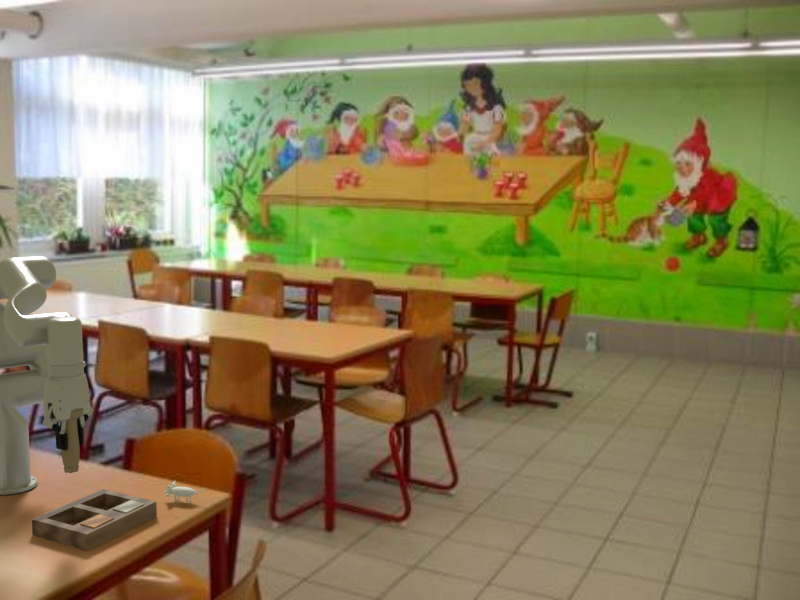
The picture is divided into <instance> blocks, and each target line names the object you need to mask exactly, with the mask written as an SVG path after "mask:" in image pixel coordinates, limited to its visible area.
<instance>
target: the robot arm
mask: <svg viewBox="0 0 800 600" xmlns="http://www.w3.org/2000/svg"><path fill="white" fill-rule="evenodd" d="M56 280H57V270H56V267H55V265H54V263H53V262H52V260H50V259H49V258H48V257H46V256H39V255H38V256H37V255H36V256H19V257H18V256H16V257H15V256H14V257H8V258H4V259H2V260H0V300H7V302H6V304H4V302H1V301H0V370H3V369H11V368H16V367H23V366H28V367H29V369H28V370H27V369H26V370H21V371H12V372H7V373H0V496H1V495H2V496H3V495H4V496H7V495H8V496H9V495H17V494H20V493H25V492H28V491H29V490H31V489H33V488H35V487H37V485H38V478H37V477H35V476H34V475H32V472H31V470H32V469H31V453H30V451H31V450H30V436H29V435H30V434H29V423H28V420H27V418H26V417H25V415H23V414H22V413H21V412H19V411H18V409H19V408H23V407H27V406H32V405H38V404H39V405H40V404H43V418H44V419H43V420H42V426H44V427H46V428H48V429H50V430H51V431H52V433H54V434H55V448H56V449H57V450H60V451H61V450H67V449H68V437H67V433H65V427H66V420H68V419H70V414H71V412H73V411H77V410H80V409H83V415H82V416H80V417H78V418H77V429H78V438H79V446H82V445H84V442H85V441H84V439H85V438H84V428H85V427H86V422H87V421H88V419H89V417H90V416H91V415H92V414H93V412H94V408H93V407H92V406H91V397H90V395H91V394H90V389H89V388H90V387H89V382H88V379H87V374H86V373H85V370H84V369H85V367H86V366H87V363H86V361H84V347H83V343H84V342H83V325H82V321H81V319H80V318H78V317H75V316H73V315H72V314H70V313H69V312H66V311H59V312H58V311H57V312H47V313H45V312H44V313H35V314H32V313H34V312H35V311H38V310H39V309H40V308H41V307H42V306H43V305H44V303H46V300H47V291H48V290H49V289H51V287H53V286H54V284H55V283H56Z"/></svg>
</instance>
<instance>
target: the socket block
mask: <svg viewBox="0 0 800 600" xmlns="http://www.w3.org/2000/svg"><path fill="white" fill-rule="evenodd" d="M157 510H158V509H157V501H155V500H151V499H147V498H142V497H139V496H135V495H130V494H125V493H122V492H117V491H114V490H109V489H104V488H103V489H100V490H98V491H95V492H94V493H91V494H88V495H86V496H84V497H81V498H79V499H76V500H73V501H72V502H70V503H66V504H65V505H63V506H60V507H57V508H55V509H53V510H50V511H48V512H46V513H43V514H41V515H38V516H36V517H34V518H32V519H31V530H32V531H31V532H32V537H33V536H34V537H35V538H36V537H37V538H40V539H45V540H48V541H50V540H51V541H52V542H54V541H55V543H57V542H58V543H59V544H61V543H62V545H65V546H68V545H69V547H72V546H73V547H72V548H75V547H76V549H79V548H80V549H79V550H82V549H83V550H82V551H86V550H87V552H89V551H91V550H93V549H95V548H97V547H98V546H102V545H103V544H105V543H107V542H108V541H111V540H113V539H115V538H117V537H119V536H121V535H124V534H125V533H127V532H130V531H131V530H133V529H135V528H137V527H140V526H141V525H144V524H145V523H147V522H150V521H151V520H154V519H155V518H157V516H158V514H157V513H158V512H157ZM74 523H76V524H74ZM73 524H74V525H73Z"/></svg>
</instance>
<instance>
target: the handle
mask: <svg viewBox="0 0 800 600" xmlns="http://www.w3.org/2000/svg"><path fill="white" fill-rule="evenodd" d="M82 415H83V409H80V410H77V411H73V412H71V414H70V419H68V420H66V427H65V433H67V437H68V449H67V450H61V449H60V451H61V459H62V464H63V466H64V467H63V471H64V473H67V474H68V473H69V474H73V473H77V472H79V467H80V460H81V459H80V457H81V456H80V455H81V454H80V453H81V450H80V445H79V438H78V429H77V418H78V417H80V416H82Z"/></svg>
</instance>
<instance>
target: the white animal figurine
mask: <svg viewBox="0 0 800 600" xmlns="http://www.w3.org/2000/svg"><path fill="white" fill-rule="evenodd" d="M176 482H177V480H174V481H172V482H171V484H170V485H166V490H165V491H164V494H165V496H166V499H169V497H170V495H173V496H174V503H175V502H176V503H177V500H178V501H181V499H180V497H181V498H182V497H183V498H186V499H185V500H186V502H185V504H186V503H188V504H189V502H190V501H191V502H192V496H193V497H194V496H195V495H197V494H201V493H205V492H207V491H208V489H205V490H202V491H200V492H197V491H196V489H193V488H191V487H188V486H177V485H178V484H177V483H176Z"/></svg>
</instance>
